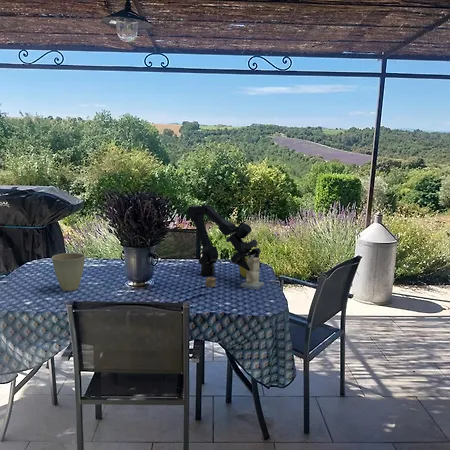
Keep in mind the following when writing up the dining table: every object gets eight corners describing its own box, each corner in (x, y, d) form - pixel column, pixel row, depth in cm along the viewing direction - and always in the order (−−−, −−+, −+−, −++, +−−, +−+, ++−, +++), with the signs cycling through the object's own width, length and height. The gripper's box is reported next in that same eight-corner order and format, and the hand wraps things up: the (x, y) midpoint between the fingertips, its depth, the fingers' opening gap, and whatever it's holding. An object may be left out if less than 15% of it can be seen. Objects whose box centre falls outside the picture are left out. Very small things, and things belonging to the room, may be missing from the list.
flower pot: (254, 278, 242) (254, 262, 240) (238, 277, 244) (238, 261, 242) (256, 274, 250) (257, 258, 249) (240, 273, 252) (241, 257, 251)
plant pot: (70, 282, 226) (69, 251, 224) (92, 287, 219) (91, 255, 217) (45, 290, 213) (44, 257, 211) (68, 295, 206) (67, 261, 204)
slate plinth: (240, 286, 226) (240, 284, 226) (247, 282, 234) (248, 279, 234) (257, 289, 222) (257, 286, 222) (264, 285, 230) (264, 282, 230)
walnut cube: (205, 286, 225) (205, 279, 225) (207, 284, 229) (207, 277, 229) (213, 287, 224) (213, 279, 224) (215, 285, 228) (215, 277, 228)
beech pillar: (246, 283, 228) (247, 258, 226) (251, 281, 231) (252, 256, 229) (253, 285, 225) (254, 259, 223) (258, 283, 228) (259, 258, 226)
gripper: (236, 236, 220) (253, 262, 215) (258, 232, 234) (275, 256, 229) (223, 250, 226) (239, 275, 221) (246, 245, 240) (262, 269, 235)
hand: (255, 268), depth 226 cm, fingers open, 9 cm apart
